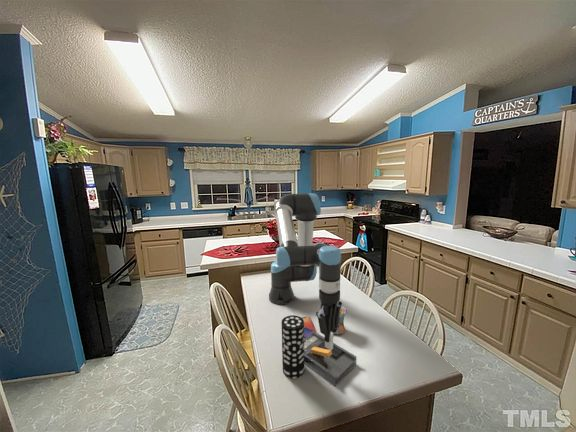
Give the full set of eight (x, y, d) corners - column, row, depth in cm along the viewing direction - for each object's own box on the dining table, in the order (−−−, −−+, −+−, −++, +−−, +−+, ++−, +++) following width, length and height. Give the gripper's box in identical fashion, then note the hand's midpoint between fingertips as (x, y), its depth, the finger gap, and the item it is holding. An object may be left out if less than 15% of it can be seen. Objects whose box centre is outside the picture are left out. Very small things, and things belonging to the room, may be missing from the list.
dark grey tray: (291, 353, 100) (291, 345, 99) (313, 337, 110) (313, 329, 109) (335, 386, 84) (335, 376, 84) (356, 364, 94) (356, 355, 93)
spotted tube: (281, 362, 96) (280, 316, 92) (302, 360, 96) (302, 314, 93) (283, 379, 88) (282, 329, 84) (305, 377, 88) (305, 328, 85)
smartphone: (302, 339, 109) (302, 337, 109) (295, 319, 124) (295, 317, 124) (317, 337, 111) (318, 335, 110) (309, 318, 125) (309, 316, 125)
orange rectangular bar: (311, 352, 97) (310, 349, 97) (315, 350, 98) (314, 346, 98) (328, 357, 90) (327, 353, 90) (332, 354, 92) (331, 350, 92)
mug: (348, 335, 111) (349, 314, 109) (328, 336, 110) (328, 315, 108) (341, 320, 122) (341, 301, 121) (323, 321, 122) (323, 301, 120)
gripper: (326, 299, 80) (326, 362, 84) (348, 286, 89) (347, 344, 92) (309, 291, 85) (310, 351, 89) (331, 280, 94) (331, 335, 98)
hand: (328, 347), depth 91 cm, fingers closed
